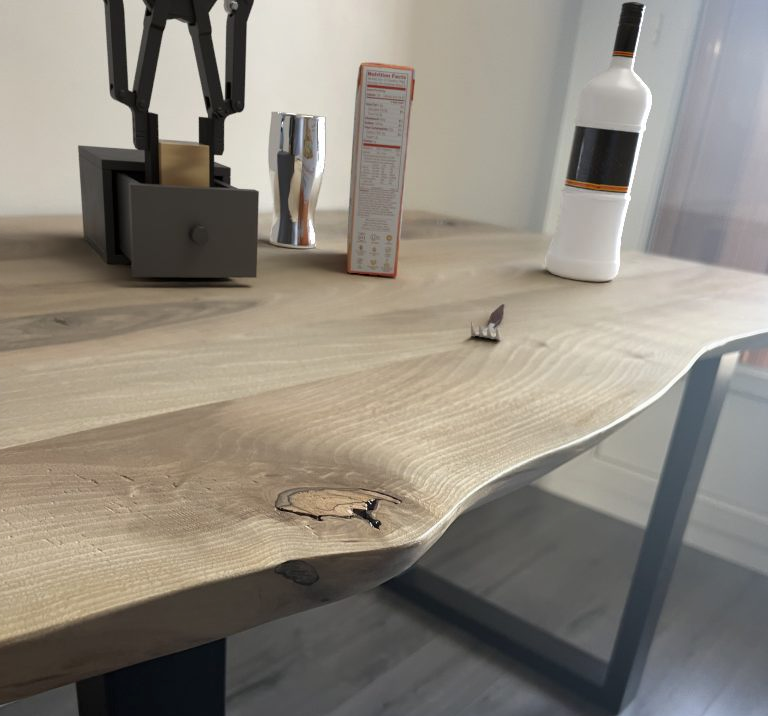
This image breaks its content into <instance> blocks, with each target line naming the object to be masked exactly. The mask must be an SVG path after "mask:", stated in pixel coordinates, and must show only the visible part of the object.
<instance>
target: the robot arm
mask: <svg viewBox="0 0 768 716" xmlns="http://www.w3.org/2000/svg"><path fill="white" fill-rule="evenodd" d="M102 1H103V6H104V21H105V36H106V38H105V39H106V54H107V68H108V69H107V71H108V72H107V73H108V85H109V86H108V89H109V96H110V97H111V99H113V100H114V101H116V102H119V103H120V104H123V105H125V106H127V107H128V108H129V110H130V113H131V123H132V124H131V125H132V126H131V127H132V143H133V146H134V149H137V150H144V152H145V183H146V184H159V185H160V183H159V148H158V142H159V139H160V137H159V136H160V135H159V133H160V132H159V114H158V113H156V112H152V111H151V112H150V111H149V109H150V106H151V100H152V95H153V91H154V84H155V78H156V74H157V68H158V62H159V57H160V51H161V46H162V42H163V41H162V40H163V35H164V31H165V29H166V27H167V21H171V20H177V21H179V22H181V23H183V24H186V25H187V29H188V30H187V31H188V33H189V35H190V37H191V43H192V48H193V52H194V55H195V56H194V57H195V61H196V67H197V73H198V76H199V82H200V86H201V87H200V88H201V92H202V96H203V102H204V107H205V112H206V114H207V117H206V116H198V143H201V144H204V145H207V146H209V187H214V162H215V156H223V154H224V152H225V121H226V119H227V117H229V116H231V115H234V114H239V113H242V112H243V111H244V110H245V106H246V105H245V103H246V102H245V101H246V70H247V38H248V37H247V36H248V32H247V31H248V20H249V18H250V15H251V12H252V9H253V6H254V2H255V0H223V10H224V12H225V13H226V14H227V16H226V22H225V23H226V24H225V58H224V59H225V63H224V64H225V65H224V66H225V67H224V95H223V89H222V83H221V79H220V73H219V68H218V62H217V57H216V51H215V47H214V42H213V36H212V35H213V34H212V33H213V29H212V27H213V26H212V23H211V18H210V12H211V11H212V9H213V8H214V6H215V5H216V3H217V2H218V0H142V3H143V4H144V5H145V10H144V16H143V22H142V26H143V27H142V34H141V40H140V45H139V51H138V56H137V61H136V67H135V74H134V78H133V83H132V89H131V90H129V75H128V53H127V35H126V34H127V33H126V17H125V4H124V3H125V2H124V0H102Z"/></svg>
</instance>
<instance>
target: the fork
mask: <svg viewBox="0 0 768 716" xmlns="http://www.w3.org/2000/svg"><path fill="white" fill-rule="evenodd" d="M504 309H505V304H504V303H502V304H500V305H499V306H498V307H497V308H495V309H494V310H493V311H492V313H491V314H490V317H489V324H487V327H486V326H485V328H482V324H481V323H479V327H478V332H479V334H476V331H475V328H474V324H473V322H472V321H471V322H470V335H471V336H472V335H474V336H473V337H475V336H480V337H479V338H481V337H487V338H493V339H492V340H494V339H501V340H502V338H501V336H500V333H499V326H498V325H499V323H501V322H502V321H503V319H504V311H505V310H504ZM494 327H495V329H494ZM483 332H487V335H484V334H483ZM491 333H493V334H494V333H496V336H495V337H494V336H492V335H491ZM487 338H486V339H487Z"/></svg>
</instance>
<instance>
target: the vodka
mask: <svg viewBox="0 0 768 716" xmlns="http://www.w3.org/2000/svg"><path fill="white" fill-rule="evenodd" d="M645 10H646V5H645V4H644V3H641V2H638V1H625V2H623V3H622V4H621V9H620V14H619V19H618V23H617V24H618V26H617V29H616V33H615V39H614V45H613V49H612V54H611V59H610V63H609V67H608V68H607V69H606V70H604V71H602V72H600V73H599V74H597V75H596V76H594V77H592V79H590V80H588V81H587V82H586V83H585V84H584V85H583V86H582V88H581V90H580V91H579V95H578V98H577V99H578V100H577V108H576V118H575V119H574V124H575V125H574V131H573V136H572V142H571V147H570V151H569V152H570V153H569V156H568V157H569V158H568V163H567V169H566V175H565V180H564V187H562V188H561V200H560V206H559V211H558V215H557V221H556V226H555V230H554V233H553V235H552V236H553V237H552V238H551V239H552V240H551V241H550V245H549V248H548V250H546V255H545V261H544V264H545V269H546V270H547V271H548V272H549V273H550V274H552V275H554V276H557V277H561V278H564V279H568V280H569V279H570V280H575V281H583V282H590V283H591V282H594V283H604V282H609V281H611V280H613V279H615V278H616V276H617V275H618V273H619V269H620V263H621V259H620V252H621V241H622V240H621V237H622V234H623V227H624V223H625V218H626V214H627V210H628V206H629V202H630V201H631V195H630V193H631V189H632V185H633V180H634V176H635V171H636V167H637V163H638V157H639V152H640V148H641V143H642V140H643V134H644V132H645V131H646V129H647V126H646V123H647V119H648V116H649V113H650V111H651V106H652V93H651V91H650V88H649V87H648V86H647V85H646V84H645V82H644V81H643V80H642V79H641V78H640V77H639V76H638V74H637V73H635V71H634V64H635V57H636V53H637V48H638V44H639V38H640V33H641V30H642V29H641V27H642V23H643V20H644V15H645V14H644V13H645Z"/></svg>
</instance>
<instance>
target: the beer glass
mask: <svg viewBox="0 0 768 716" xmlns="http://www.w3.org/2000/svg"><path fill="white" fill-rule="evenodd" d="M326 124H327V118H326V117H325V116H322V115H321V116H320V115H312V114H304V113H295V112H283V111H271V112H270V124H269V131H268V132H269V133H268V144H267V145H268V147H267V163H268V175H269V183H270V190H271V191H270V192H271V199H272V222H271V226H270V227H271V228H270V233H269V237H268V243H269V244H270V245H272V246H276V247H281V248H288V249H303V250H304V249H305V250H306V249H314V248H316V247H317V244H318V243H317V233H316V213H317V212H316V211H317V210H316V209H317V205H318V202H319V201H318V200H319V196H320V192H321V188H322V184H323V176H324V172H325V166H326V154H327V153H326V152H327V132H326V131H327V129H326V128H327V127H326V126H327V125H326Z"/></svg>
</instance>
